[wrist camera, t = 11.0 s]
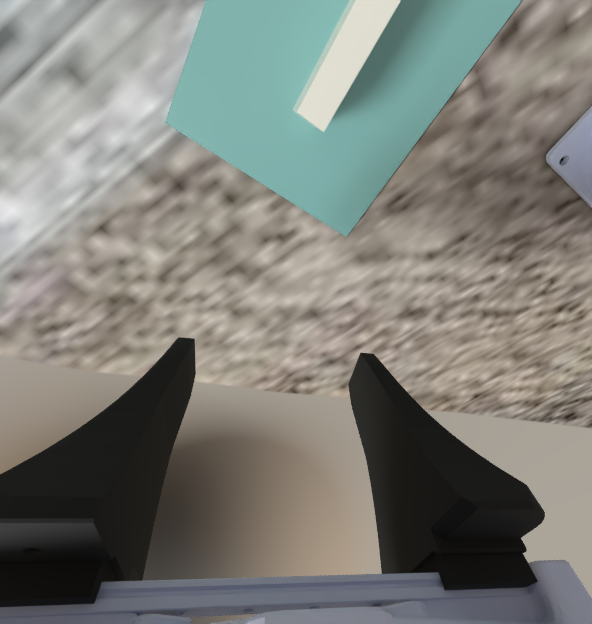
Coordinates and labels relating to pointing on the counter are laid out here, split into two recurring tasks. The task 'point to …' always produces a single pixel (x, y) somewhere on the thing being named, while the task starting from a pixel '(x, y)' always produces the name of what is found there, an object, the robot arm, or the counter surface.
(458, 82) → the lid
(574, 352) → the counter surface
